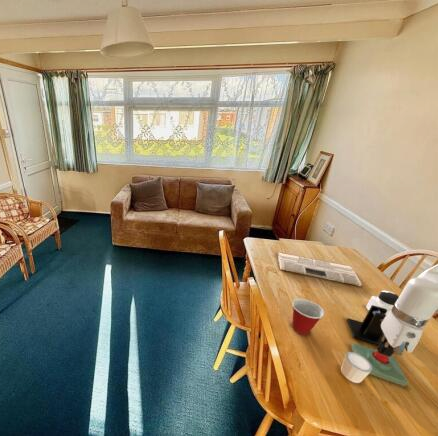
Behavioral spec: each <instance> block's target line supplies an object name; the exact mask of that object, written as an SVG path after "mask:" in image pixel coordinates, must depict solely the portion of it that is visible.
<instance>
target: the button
mask: <svg viewBox="0 0 438 436" xmlns="http://www.w3.org/2000/svg"><path fill="white" fill-rule="evenodd" d="M373 356H374V358H375V359H376V360H378V361H379V362H381V363H384V364H385V363H387V362H388V361H389V357H388V356H386V355H383V354H380V353H378V351H375V353H374V354H373Z"/></svg>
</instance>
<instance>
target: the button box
mask: <svg viewBox="0 0 438 436" xmlns="http://www.w3.org/2000/svg"><path fill="white" fill-rule="evenodd" d="M350 348H351V352H354V353H357V354H359V355H361V356H363V357H364V358H365V359H366V360H368V361H369V363H370V364H371V366H372V371H371V372H370V373H369V374H368V375H372V376H374V377H377V378H380V379H383V380H385V381H388V382H391V383H393V384H396V385H399V386H402V387H406V386H407V385H408V383H409V382H408V380H407V378H406V376H405V374H404V372H403V370H402V368H401V366H400V364H399V362H398V361H397V358H396V356H395V355H393V354H392V355H391V356H390V357H389V356H388V357H389V361H388V362H387V363H385V364H384V363H381V362H379V361H378V360H376V359H375V358H374V356H373V354H374V353H375V351H378V350H377V349H375V348H370V347H367V346H364V345H361V344H358V343H354V342H353V343H351V345H350Z"/></svg>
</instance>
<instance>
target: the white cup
mask: <svg viewBox="0 0 438 436" xmlns="http://www.w3.org/2000/svg"><path fill="white" fill-rule="evenodd" d="M371 371H372V366H371V364H370V363H369V361H368V360H366V359H365V358H364V357H363V356H361V355H359V354H357V353H354V352H353V351H348V352H346V354H345V355H344V359H343V361H342V364H341V367H340V372H341V374H342V375H343V376H344V377H345V379H347V380H348V381H350V382H352V383H354V384H361V382H362V381H363V380H364V379H365V378H367V377H368V375H370V374H369V373H370V372H371Z"/></svg>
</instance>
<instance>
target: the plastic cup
mask: <svg viewBox="0 0 438 436" xmlns="http://www.w3.org/2000/svg"><path fill="white" fill-rule="evenodd" d="M291 305H292V310H293V311H292V312H293V313H292V323H291V324H292V325H291V326H292V328H293V330H294V331H295V332H296V333H298V334H301V335H308V334H309V333H310V331H311V330H313V328H314V327H315V326H316V324H317V323H318V322H319V321H320V320H321V319H322V318H324V316H325V310H324V309H323V308H322V307H321V306H320V305H319V304H317V303H315V301H311V300H309V299H304V298H296V299H293V300H292V302H291Z"/></svg>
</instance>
